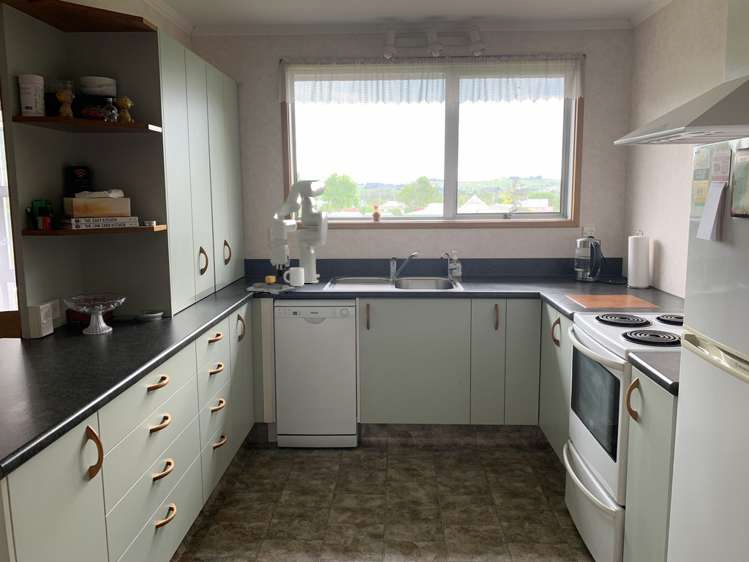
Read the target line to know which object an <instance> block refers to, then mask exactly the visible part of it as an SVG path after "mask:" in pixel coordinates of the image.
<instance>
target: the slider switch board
mask: <svg viewBox="0 0 749 562" xmlns="http://www.w3.org/2000/svg"><path fill="white" fill-rule="evenodd" d="M294 288H295V287H291V286H290V284H280V283H279V284H277V283H274V285H268V283H267V282H265V283H264V282H256V283H253V284H252V286H250V287H247V288H246V289H247V290H248V291H264V292H270V293H271V295H281V294H280V292H281V291H285V290H289V289H294ZM248 291H247V292H248Z"/></svg>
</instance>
